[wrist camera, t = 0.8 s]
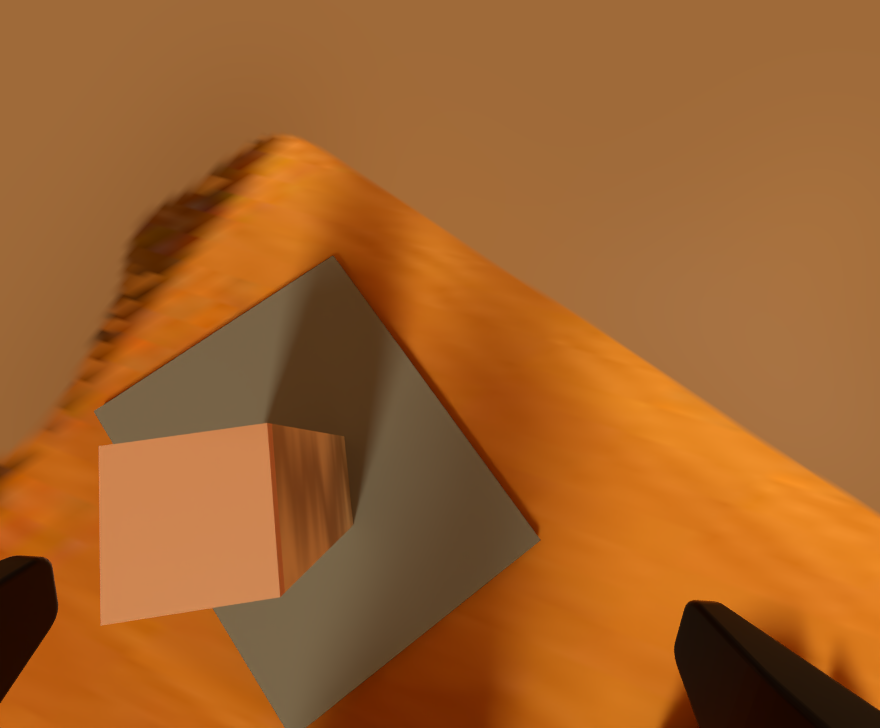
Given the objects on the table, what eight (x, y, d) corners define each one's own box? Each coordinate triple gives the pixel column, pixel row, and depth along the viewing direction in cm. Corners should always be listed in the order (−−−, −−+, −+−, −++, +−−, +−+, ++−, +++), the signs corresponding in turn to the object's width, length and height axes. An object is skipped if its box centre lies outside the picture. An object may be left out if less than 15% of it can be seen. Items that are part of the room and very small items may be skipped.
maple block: (353, 525, 24) (280, 597, 12) (264, 538, 24) (100, 625, 12) (344, 436, 25) (267, 423, 13) (257, 448, 24) (98, 446, 13)
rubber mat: (295, 731, 23) (291, 738, 22) (101, 412, 25) (93, 411, 25) (537, 537, 25) (540, 540, 24) (335, 259, 27) (333, 255, 26)
